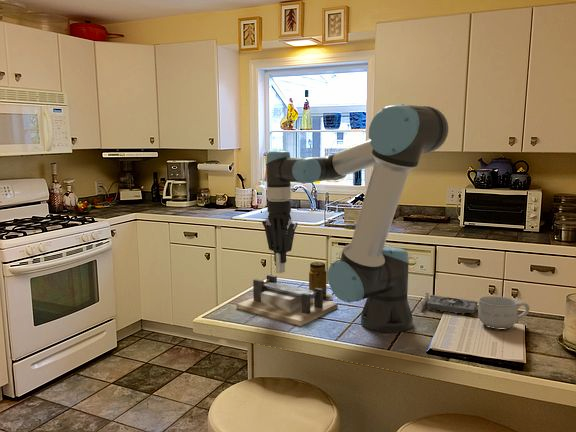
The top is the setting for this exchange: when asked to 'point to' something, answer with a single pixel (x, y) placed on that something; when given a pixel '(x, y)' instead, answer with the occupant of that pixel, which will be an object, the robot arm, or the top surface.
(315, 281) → the condiment
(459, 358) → the top surface
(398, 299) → the robot arm
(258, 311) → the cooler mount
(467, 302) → the graphics card
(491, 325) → the teacup
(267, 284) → the retention strap
